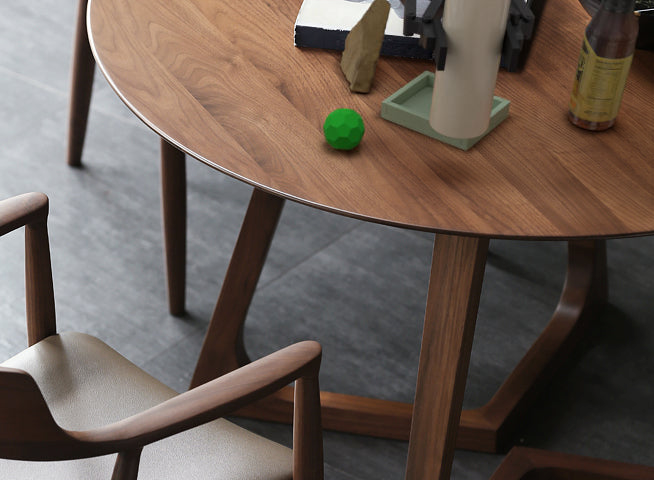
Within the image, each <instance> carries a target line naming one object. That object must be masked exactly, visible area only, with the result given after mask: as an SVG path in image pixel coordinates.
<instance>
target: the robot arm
mask: <svg viewBox="0 0 654 480" xmlns="http://www.w3.org/2000/svg"><path fill="white" fill-rule="evenodd" d="M417 1H418V0H399V2H400V3H401V4H402V6H403V23H402V36H404V37H406V38H411V37H413V36H414V35H418V36H419V41H418V45H419V46H421V47H422V48H423V49H424V50H427V51H428V50H429V51H430V50H431V51H432V54H433V59H434V62H435V68H436V67H437V71H444V70H445V63H446V56H447V49H448V46H447V42H446V38H445V34H444V30H443V26H442V19H443V11H444V4H445V0H428V1H429V3H428V5H427V7H426V9H425V10H424V12H423V14H422V16H417ZM535 18H536V16H535V15H534V13H533V11H532V9H531V8H530V6H529V5H528V3H527V1H525V0H511V3H510V9H509V14H508V20H507V26H506V31H505V37H504V42H503V48H502V54H501V55H502V56H503V57H502V58H503V59H504V62H505V66H506V68H507V71H508V73H516V72H517V68H518V63H519V58H520V53H521V51H522V48H523V44H524V40H525V41H526V40H527V41H528V40H530V39H531V38H532V34H533V28H534V23H535Z"/></svg>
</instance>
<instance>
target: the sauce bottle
mask: <svg viewBox="0 0 654 480" xmlns="http://www.w3.org/2000/svg"><path fill="white" fill-rule="evenodd" d="M636 2H637V0H601V3H600V5H599V7H598V8H597V10H596V12H595V13H594V14H593V16H592V17H591V20H590V21H589V23H588V24H587V25H586V27H585V29H584V33H583V39H582V42H581V45H580V46H581V47H580V51H579V55H578V62H577V65H576V69H575V74H574V78H573V82H572V87H571V92H570V96H569V101H568V118H569V121H570V122H571V123H572V124H573V125H575V126H577V127H579V128H582V129H584V130H588V131H597V132H598V131H605V130H607V129H609V128H610V127H612V126H613V125H615V123H616V121H617V117H618V114H619V113H620V108H621V105H622V100H623V97H624V93H625V89H626V85H627V82H628V78H629V74H630V71H631V70H630V69H631V66H632V63H633V58H634V54H635V50H636V43H637V39H638V36H639V29H640V28H639V21H638V18H637V15H636V13H635V10H634V9H635V7H636V5H637V3H636Z"/></svg>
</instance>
